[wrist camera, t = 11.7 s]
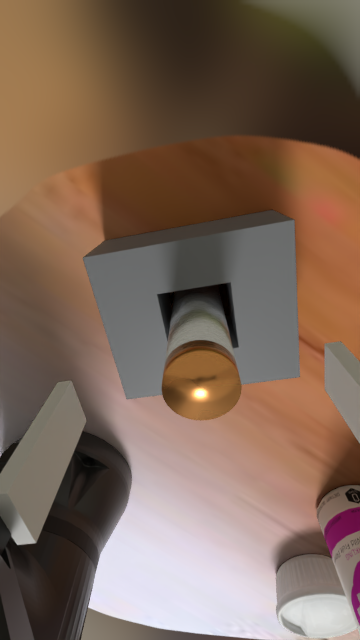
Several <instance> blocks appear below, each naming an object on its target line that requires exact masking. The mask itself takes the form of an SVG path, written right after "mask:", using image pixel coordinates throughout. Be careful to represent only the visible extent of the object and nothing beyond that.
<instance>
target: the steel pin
mask: <svg viewBox="0 0 360 640" xmlns="http://www.w3.org/2000/svg"><path fill="white" fill-rule="evenodd" d="M240 394H241V380H240V376H239V372H238V368H237V363H236V359H235V355H234V351H233V347H232V342H231V338H230V334H229V330H228V326H227V321H226V317H225V313H224V309H223V305H222V300H221V296H220V292H219V288H218V285H211V286H204V287H198V288H192V289H186V290H180V291H175V294H174V301H173V308H172V315H171V322H170V329H169V336H168V344H167V351H166V358H165V365H164V372H163V379H162V395H163V398H164V400H165V402H166V403H167V405H168V406H169V407H170V408H171V409H172V410H173V411H174V412H176V413H177V414H179V415H181V416H183V417H185V418H188V419H193V420H210V419H214V418H217V417H220V416H222V415H224V414H226V413H227V412H229V411H230V410H231V409H232V408H233V407H234V406H235V405H236V403H237V402H238V400H239V397H240Z"/></svg>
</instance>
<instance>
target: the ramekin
mask: <svg viewBox="0 0 360 640" xmlns="http://www.w3.org/2000/svg"><path fill="white" fill-rule="evenodd" d="M276 592H277V606H276V613H277V618H278V621H279V623H280V624H281V625H282V626H283V627H284V628H285V629H286V630H288V631H289V632H291V633H293V634H296V635H299V636H303V637H308V638H331V637H337V636H341V635H344V634H347V633H349V632H352V631H354V630H355V629H357V626H356V623H355V620H354V617H353V615H352V612H351V609H350V607H349V604H348V601H347V598H346V596H345V593H344V590H343V587H342V585H341V582H340V579H339V576H338V574H337V571H336V568H335V565H334V563H333V560H332V558H330V557H328V556H324V555H319V554H305V555H300V556H296V557H294V558H291V559H289V560H287V561H286V562H284V563H283V564H282V565H281V567H280V568H279V570H278V572H277V575H276Z"/></svg>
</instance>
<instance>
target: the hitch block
mask: <svg viewBox="0 0 360 640" xmlns="http://www.w3.org/2000/svg"><path fill="white" fill-rule="evenodd" d="M83 260H84V264H85V267H86V270H87V273H88V276H89V280H90V283H91V286H92V289H93V293H94V296H95V299H96V302H97V305H98V309H99V312H100V315H101V318H102V321H103V325H104V328H105V331H106V334H107V338H108V341H109V344H110V347H111V350H112V354H113V357H114V360H115V363H116V366H117V370H118V373H119V376H120V379H121V383H122V386H123V389H124V392H125V395H126V399H133V398H141V397H149V396H157V395H162V379H163V372H164V365H165V358H166V351H167V344H168V336H169V329H170V322H171V315H172V308H171V303H170V299H169V294H168V292H174V291H180V290H186V289H192V288H198V287H204V286H211V285H217V284H223V283H226V288H227V296H228V303H229V311H230V315H229V316H225V317H226V321H227V326H228V330H229V334H230V338H231V342H232V347H233V351H234V355H235V359H236V363H237V368H238V372H239V376H240V380H241V385H242V384H250V383H257V382H265V381H273V380H281V379H288V378H296V377H300V367H299V338H298V309H297V281H296V252H295V223H294V219H292V218H289V217H287V216H285V215H283V214H281V213H278V212H276V211H274V210H269V211H264V212H258V213H253V214H247V215H242V216H236V217H231V218H225V219H220V220H215V221H209V222H204V223H198V224H193V225H187V226H182V227H177V228H171V229H166V230H160V231H155V232H149V233H144V234H138V235H133V236H128V237H122V238H117V239H111V240H106V241H104V242H102V243H101V244H100V245H98V246H97V247H96V248H95V249H93V250H92V251H91V252H90V253H88V254H87V255H86V256H84V257H83Z"/></svg>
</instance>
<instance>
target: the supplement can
mask: <svg viewBox="0 0 360 640" xmlns="http://www.w3.org/2000/svg"><path fill="white" fill-rule="evenodd" d="M317 519H318V521H319V524H320V527H321V530H322V532H323V535H324V538H325V541H326V543H327V546H328V549H329V552H330V554H331V557H332V560H333V563H334V565H335V568H336V571H337V574H338V576H339V579H340V582H341V585H342V587H343V590H344V593H345V596H346V598H347V601H348V604H349V607H350V609H351V612H352V615H353V617H354V620H355V623H356V626H357V628H358V631H359V634H360V485H348V486H343V487H339V488H337V489H334V490H332V491H330V492H329V493H328V494H327V495H325V496H324V497H323V499H322V500H321V502H320V504H319V506H318V508H317Z"/></svg>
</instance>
